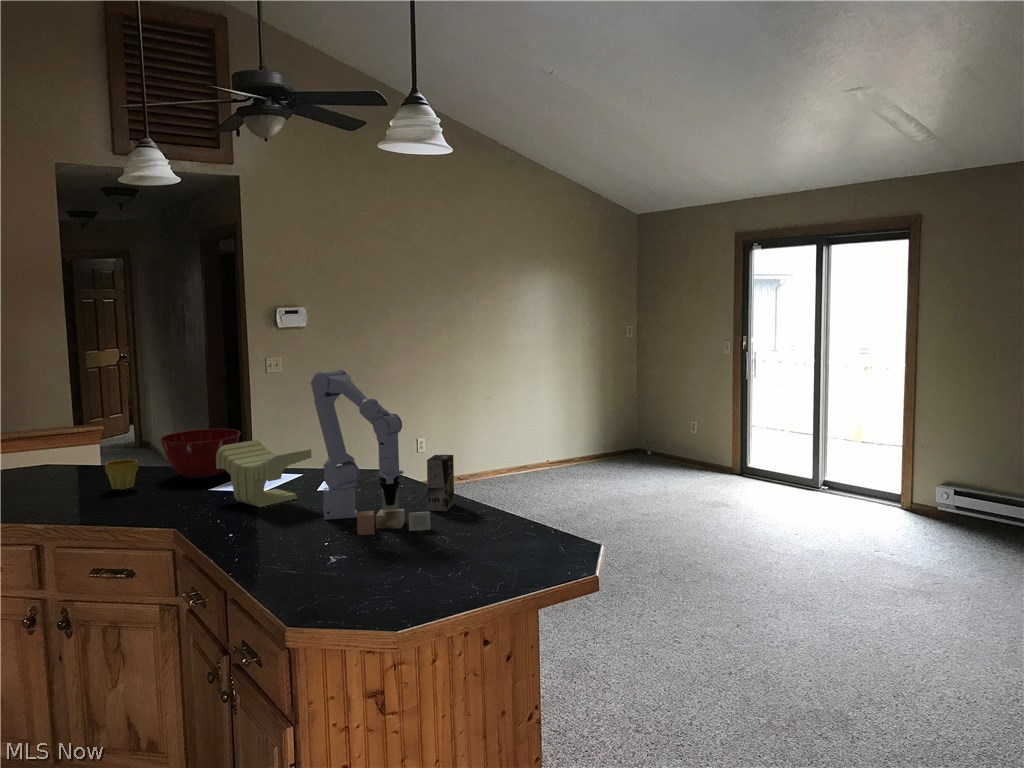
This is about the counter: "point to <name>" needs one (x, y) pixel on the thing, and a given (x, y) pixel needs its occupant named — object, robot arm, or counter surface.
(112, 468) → the plant pot
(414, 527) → the placard
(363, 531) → the terracotta block
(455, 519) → the counter surface
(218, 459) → the slatted curved stool
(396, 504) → the sage block
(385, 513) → the birch base block
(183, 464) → the mixing bowl
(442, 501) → the coffee box
